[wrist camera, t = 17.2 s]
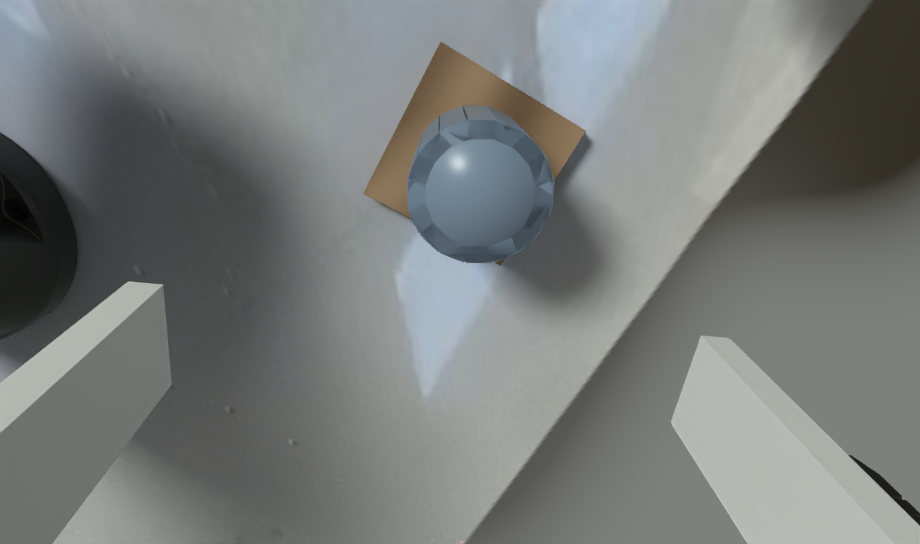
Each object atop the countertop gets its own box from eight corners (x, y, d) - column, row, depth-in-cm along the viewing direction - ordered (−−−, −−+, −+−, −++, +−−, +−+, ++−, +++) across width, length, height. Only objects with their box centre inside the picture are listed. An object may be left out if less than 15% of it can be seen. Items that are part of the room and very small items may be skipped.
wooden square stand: (366, 188, 35) (349, 220, 28) (440, 42, 31) (440, 40, 25) (498, 258, 37) (510, 302, 30) (581, 128, 34) (613, 146, 27)
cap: (471, 246, 34) (478, 289, 28) (388, 166, 32) (376, 194, 26) (556, 167, 32) (583, 195, 26) (475, 78, 30) (483, 85, 24)
